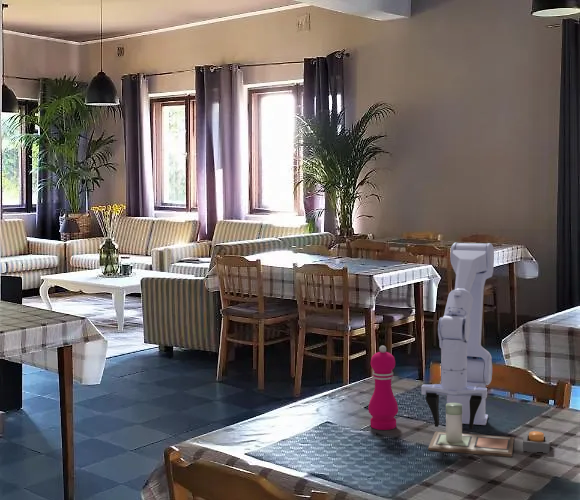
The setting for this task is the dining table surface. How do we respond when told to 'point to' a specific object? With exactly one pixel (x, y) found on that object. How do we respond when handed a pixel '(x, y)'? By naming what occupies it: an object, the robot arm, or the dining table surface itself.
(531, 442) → the button housing
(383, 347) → the pepper mill
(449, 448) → the picture board
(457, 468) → the dining table surface
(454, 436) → the white and green cylinder
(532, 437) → the button
